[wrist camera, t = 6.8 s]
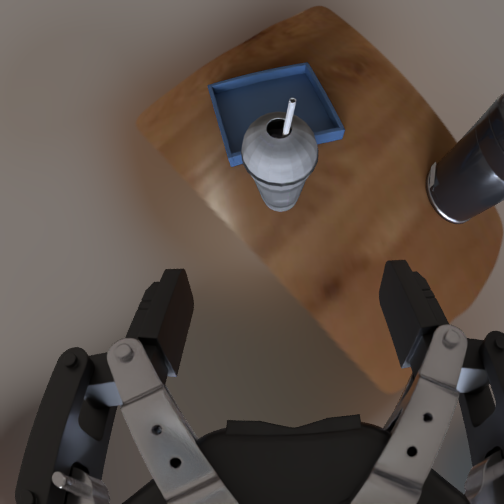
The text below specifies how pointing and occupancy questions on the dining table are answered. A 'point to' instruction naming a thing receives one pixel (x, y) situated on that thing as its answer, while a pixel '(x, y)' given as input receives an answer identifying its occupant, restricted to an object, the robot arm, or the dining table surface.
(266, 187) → the beverage cup
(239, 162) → the tray
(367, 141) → the dining table surface
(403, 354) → the robot arm
